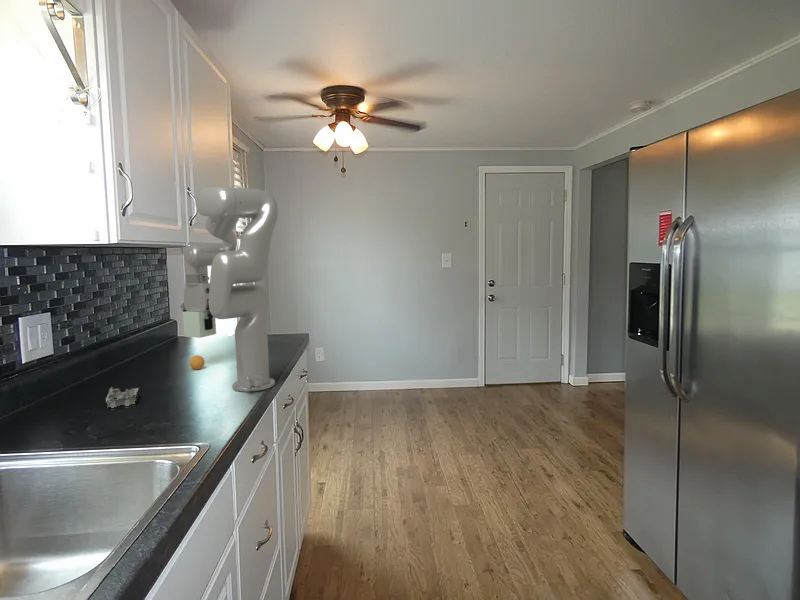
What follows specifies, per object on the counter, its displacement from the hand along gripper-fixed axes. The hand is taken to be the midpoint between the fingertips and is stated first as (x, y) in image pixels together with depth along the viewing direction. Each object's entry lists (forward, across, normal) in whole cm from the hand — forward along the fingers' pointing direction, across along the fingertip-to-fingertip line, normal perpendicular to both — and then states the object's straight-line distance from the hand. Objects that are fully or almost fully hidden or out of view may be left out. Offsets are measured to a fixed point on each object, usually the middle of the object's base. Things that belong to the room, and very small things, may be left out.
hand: (200, 328), depth 175 cm
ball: (+12, 0, +2) cm, 12 cm away
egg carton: (+15, -9, +38) cm, 42 cm away
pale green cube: (+2, 0, 0) cm, 2 cm away
